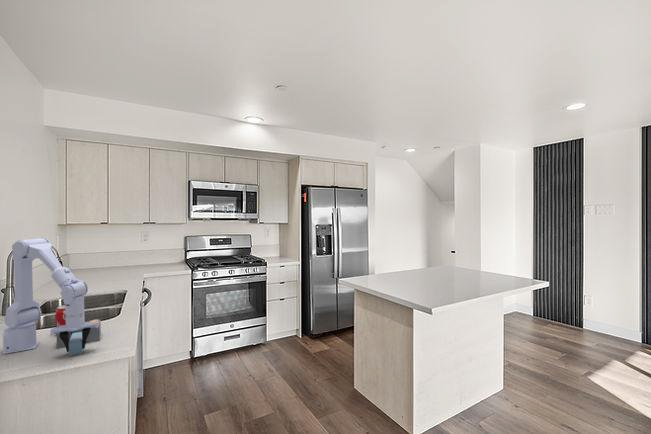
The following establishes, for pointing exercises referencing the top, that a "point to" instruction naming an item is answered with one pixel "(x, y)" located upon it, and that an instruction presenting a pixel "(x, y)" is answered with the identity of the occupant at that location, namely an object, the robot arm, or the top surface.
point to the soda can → (60, 316)
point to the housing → (92, 337)
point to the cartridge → (75, 343)
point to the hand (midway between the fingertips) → (76, 349)
